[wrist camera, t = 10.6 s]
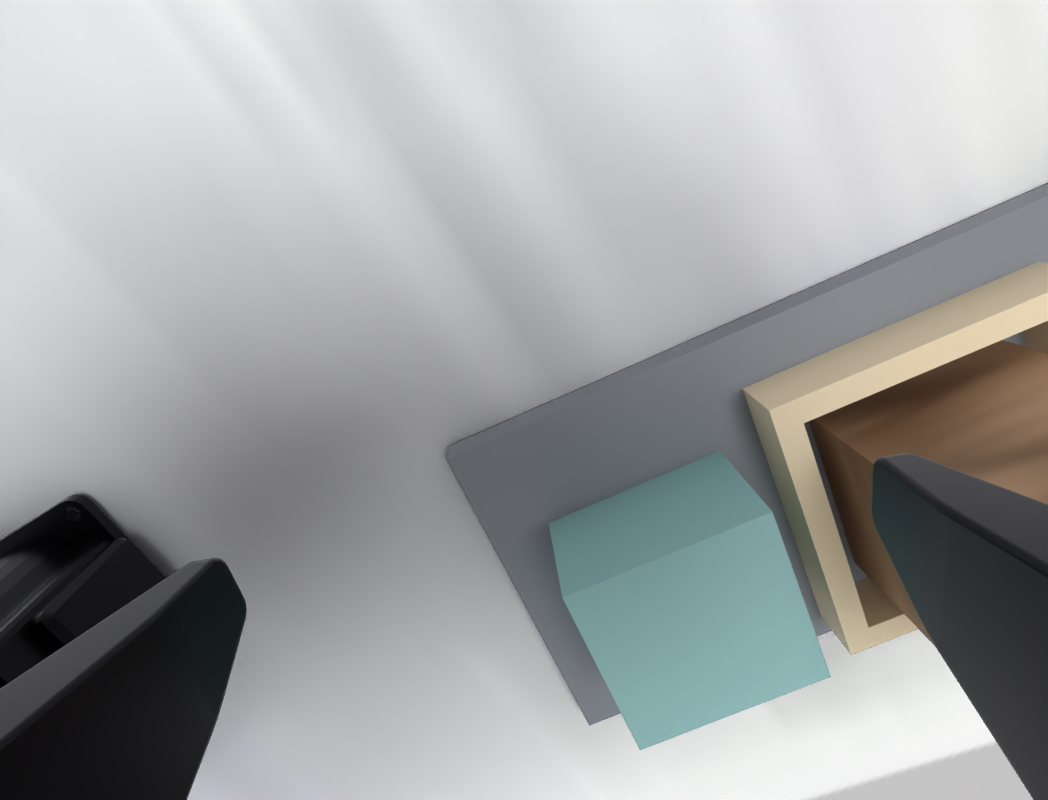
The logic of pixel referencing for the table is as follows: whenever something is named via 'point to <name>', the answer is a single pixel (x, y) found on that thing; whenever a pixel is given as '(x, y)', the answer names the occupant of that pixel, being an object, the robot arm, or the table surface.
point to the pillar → (939, 441)
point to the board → (701, 414)
